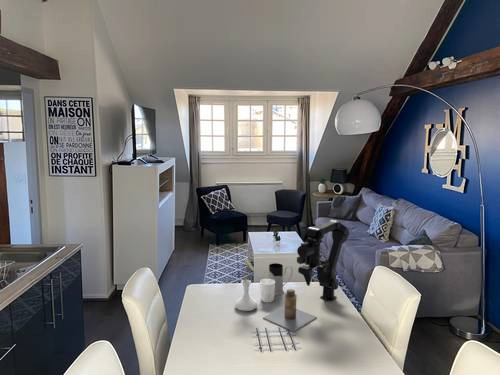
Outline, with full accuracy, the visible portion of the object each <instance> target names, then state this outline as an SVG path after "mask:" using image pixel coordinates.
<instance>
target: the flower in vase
mask: <svg viewBox="0 0 500 375" xmlns="http://www.w3.org/2000/svg"><path fill="white" fill-rule="evenodd" d="M244 261H245V263H246V264H247V265H246V268H245V270H244V272H243V274H244V279H242V280H241V284H242V286H243V295H242V296H241V297H239V299H237V300H236V301H235V302H234V307H235V308H236V309H237V310H239V311H243V312H248V311H249V312H250V311H253V310H256V308H257V307H258V302H257V301H256V300H255V299H254V298H253V297H251V296H250V294H249V290H250V288H249V287H250V285H251V283H252V281H251V279H250V280H249V279H248V278H249V277H250V276H247V275H246V272H247V270H248V269H247V268H248V267H249V268H250V269H251V271H253V272H254V271H255V268H254V267H253V264H252V262H250V260H249V259H248V258H247V257H244Z"/></svg>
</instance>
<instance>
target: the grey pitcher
mask: <svg viewBox="0 0 500 375" xmlns="http://www.w3.org/2000/svg"><path fill="white" fill-rule="evenodd" d="M288 268H290V269H291V273H290V276H289V277H288V279H287V280H286V281H285V282H284V275H286V272H287V269H288ZM283 271H284V272H283ZM292 276H293V267H292V266H289V265H288V266H286V267H284V266H283V264H281V263H276V262H273V263H270V264H268V279H273V280H275V294H274V296H280V295H279V294H281V295H283V294H284V286H285V285H286V284H288V282H289V281H290V280H291V278H292ZM282 293H283V294H282Z"/></svg>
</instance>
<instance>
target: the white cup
mask: <svg viewBox="0 0 500 375" xmlns="http://www.w3.org/2000/svg"><path fill="white" fill-rule="evenodd" d="M259 284H260V300H261V301H262V302H264V303H272V302H274V301H275V295H274V294H275V280H273V279H269V278H262V279H260V282H259Z"/></svg>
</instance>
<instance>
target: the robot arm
mask: <svg viewBox="0 0 500 375" xmlns="http://www.w3.org/2000/svg"><path fill="white" fill-rule="evenodd" d="M330 232H331V238H332V244H331V248H330V251H329V255H328V259H325V258H322V257H323V256H322V255H323V254H322V253H321V243H323V240H322V239H323V238H324V237H325V235H327V234H328V233H330ZM349 235H350V231H349V229H348V227H347V226H345V225H344V224H343V223H342V222H341V221H339V220H335V219H331V220H329V221H327V222H325V223H323V224H321V225H319V226H316V225H314V226H309V227H307V229H306V231H305V233H304V236H303V239H302V243H300V246H298V248H297V250H296V251H297V255H298V256H297V257H296V263H297V264H299V265H300V267H298V268H297V272H298V273H299V274H300V275H302V276H303V277H304V281H305V282H306V283H305V284H306V286H308V287H309V286H310V284H311V282H312V277H313V275H314V273H313V271H314V269H316V277H317V281H318V283H319V284H318V285H319V287H322V294H321V296H320V297H319V298H321V299H323V300H325V301H328V302H332V301H334V300H335V299H337V296H336V295H335V290H336V291H337V290H338V289H339V282H338V280H337V273H336V267H337V264H338V260H339V257H340V254H341V250H342V246H343V244H344V243H345V242H346V241H347V240H348V237H349ZM303 264H305V265H303Z"/></svg>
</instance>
